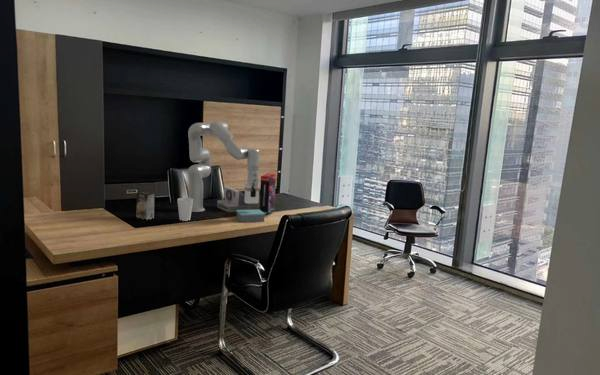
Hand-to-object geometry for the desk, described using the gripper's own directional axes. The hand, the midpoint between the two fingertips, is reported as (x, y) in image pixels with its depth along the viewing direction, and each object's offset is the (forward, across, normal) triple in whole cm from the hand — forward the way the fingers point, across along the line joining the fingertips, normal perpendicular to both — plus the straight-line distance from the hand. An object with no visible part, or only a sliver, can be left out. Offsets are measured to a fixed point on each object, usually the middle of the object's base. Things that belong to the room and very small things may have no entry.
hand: (251, 195), depth 283 cm
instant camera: (+16, +34, +3) cm, 37 cm away
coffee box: (+16, +12, +64) cm, 67 cm away
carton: (+4, 0, 0) cm, 4 cm away
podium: (+16, 0, 0) cm, 16 cm away
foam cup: (+16, +5, +41) cm, 44 cm away
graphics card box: (+16, +17, -17) cm, 29 cm away
